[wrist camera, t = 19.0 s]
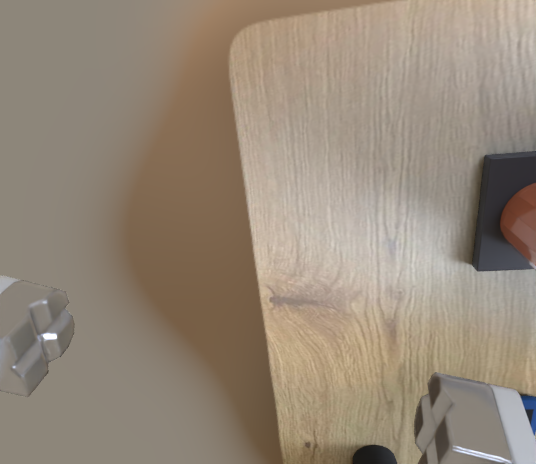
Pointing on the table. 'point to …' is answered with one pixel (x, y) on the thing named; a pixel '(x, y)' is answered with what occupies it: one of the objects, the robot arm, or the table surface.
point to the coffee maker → (500, 209)
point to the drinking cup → (374, 455)
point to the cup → (521, 223)
